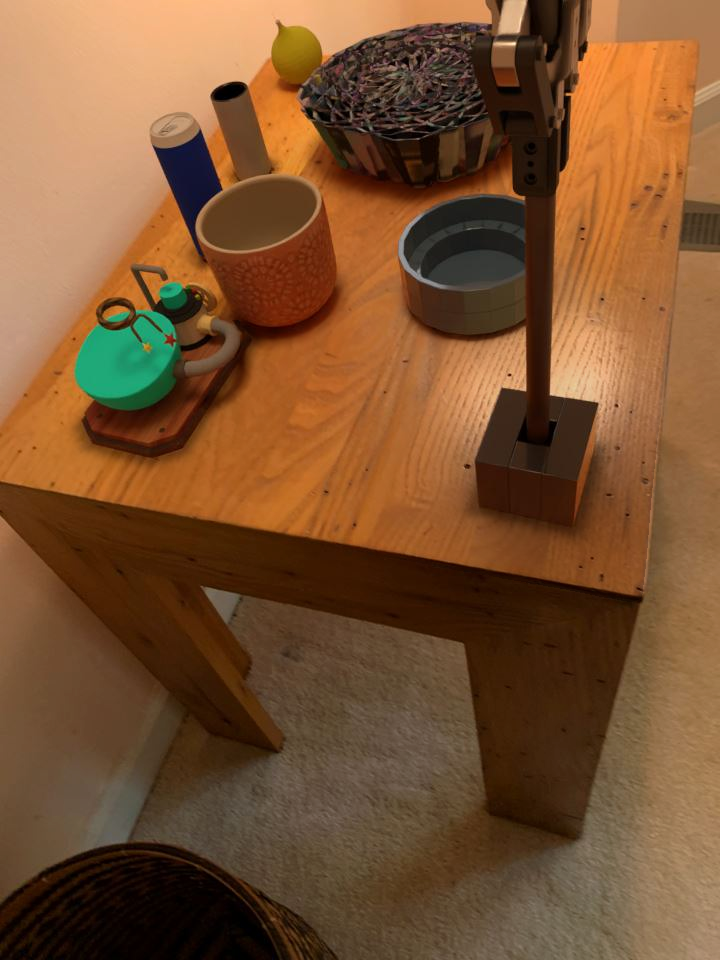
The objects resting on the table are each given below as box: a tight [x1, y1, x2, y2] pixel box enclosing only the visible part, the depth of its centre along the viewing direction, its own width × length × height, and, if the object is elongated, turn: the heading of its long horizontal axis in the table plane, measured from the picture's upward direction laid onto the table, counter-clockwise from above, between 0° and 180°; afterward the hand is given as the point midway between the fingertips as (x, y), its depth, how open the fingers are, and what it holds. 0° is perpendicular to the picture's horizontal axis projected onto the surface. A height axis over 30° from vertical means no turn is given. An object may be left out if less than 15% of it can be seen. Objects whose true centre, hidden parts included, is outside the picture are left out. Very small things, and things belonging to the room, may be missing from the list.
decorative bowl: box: [296, 21, 512, 189], centre depth 88 cm, size 26×28×10 cm
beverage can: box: [149, 111, 224, 260], centre depth 80 cm, size 5×5×15 cm
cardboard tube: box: [209, 80, 272, 181], centre depth 90 cm, size 4×4×10 cm
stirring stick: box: [524, 191, 557, 444], centre depth 45 cm, size 2×2×26 cm
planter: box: [195, 173, 338, 328], centre depth 74 cm, size 12×12×11 cm
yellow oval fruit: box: [270, 14, 323, 86], centre depth 102 cm, size 7×7×10 cm
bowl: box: [397, 192, 526, 336], centre depth 71 cm, size 14×14×6 cm
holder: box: [474, 387, 600, 527], centre depth 57 cm, size 7×7×6 cm
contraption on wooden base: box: [74, 263, 252, 458], centre depth 68 cm, size 14×18×15 cm
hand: (540, 179), depth 39 cm, fingers closed on stirring stick, 1 cm apart
